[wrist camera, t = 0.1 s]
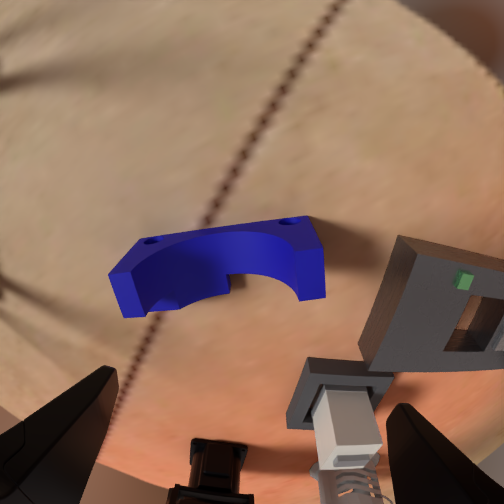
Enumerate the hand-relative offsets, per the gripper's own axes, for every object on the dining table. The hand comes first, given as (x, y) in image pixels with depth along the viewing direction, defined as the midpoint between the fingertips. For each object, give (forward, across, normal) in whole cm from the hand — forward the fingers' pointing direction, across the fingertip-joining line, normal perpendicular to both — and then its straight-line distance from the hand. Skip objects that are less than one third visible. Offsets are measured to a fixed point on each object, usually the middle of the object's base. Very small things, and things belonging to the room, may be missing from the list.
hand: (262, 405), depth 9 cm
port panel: (+15, -19, +3) cm, 24 cm away
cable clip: (+15, +2, +2) cm, 15 cm away
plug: (+15, -10, +14) cm, 23 cm away
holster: (+15, -10, +14) cm, 23 cm away
